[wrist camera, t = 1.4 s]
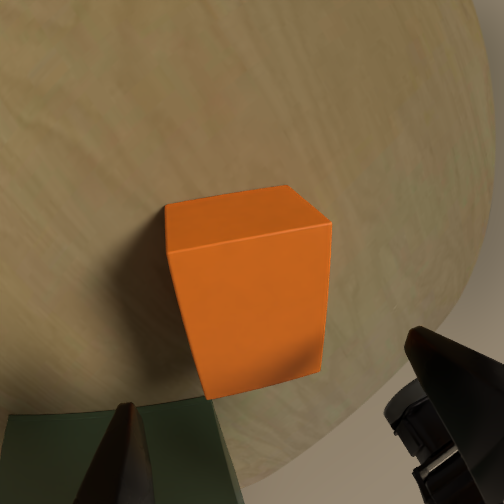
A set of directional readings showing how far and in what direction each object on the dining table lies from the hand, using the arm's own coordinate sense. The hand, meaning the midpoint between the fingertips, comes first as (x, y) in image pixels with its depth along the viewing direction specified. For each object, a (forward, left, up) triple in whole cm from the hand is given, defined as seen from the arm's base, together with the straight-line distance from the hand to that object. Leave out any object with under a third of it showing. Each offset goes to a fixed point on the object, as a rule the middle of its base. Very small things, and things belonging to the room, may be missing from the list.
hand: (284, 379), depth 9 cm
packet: (0, 0, -6) cm, 6 cm away
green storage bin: (+10, +15, -6) cm, 19 cm away
